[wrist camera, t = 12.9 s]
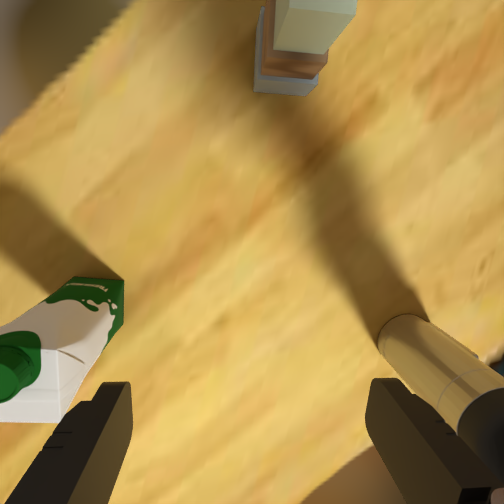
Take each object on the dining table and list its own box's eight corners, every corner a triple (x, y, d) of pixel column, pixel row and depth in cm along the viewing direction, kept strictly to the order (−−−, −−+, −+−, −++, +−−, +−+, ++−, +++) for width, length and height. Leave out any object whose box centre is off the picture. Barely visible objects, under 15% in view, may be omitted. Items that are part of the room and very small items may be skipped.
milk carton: (130, 275, 41) (50, 359, 22) (129, 330, 44) (55, 451, 24) (66, 269, 40) (-77, 353, 21) (68, 326, 43) (-60, 450, 23)
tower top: (317, 19, 31) (334, -11, 26) (312, 79, 33) (327, 62, 28) (263, 12, 31) (271, -19, 26) (260, 75, 32) (266, 56, 27)
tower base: (310, 35, 36) (324, 13, 31) (305, 96, 38) (317, 84, 33) (256, 29, 35) (261, 6, 30) (253, 92, 37) (257, 79, 32)
